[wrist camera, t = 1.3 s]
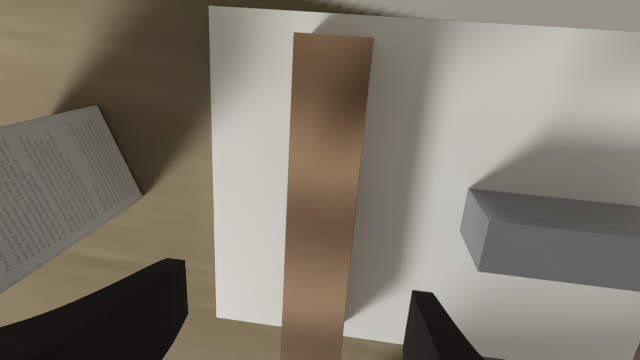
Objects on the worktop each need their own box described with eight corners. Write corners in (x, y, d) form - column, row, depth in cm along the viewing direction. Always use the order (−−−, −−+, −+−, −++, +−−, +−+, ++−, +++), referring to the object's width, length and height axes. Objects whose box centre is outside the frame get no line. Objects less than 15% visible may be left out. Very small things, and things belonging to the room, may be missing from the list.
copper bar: (344, 322, 24) (338, 374, 20) (295, 315, 24) (280, 365, 20) (373, 39, 18) (373, 37, 15) (310, 34, 19) (293, 32, 15)
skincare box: (41, 125, 23) (-270, 200, 12) (99, 103, 22) (-179, 161, 11) (89, 216, 25) (-145, 357, 14) (146, 199, 24) (-56, 335, 13)
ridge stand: (743, 39, 17) (878, 37, 13) (615, 363, 23) (675, 444, 19) (216, 7, 20) (167, -5, 15) (222, 307, 26) (188, 365, 21)
